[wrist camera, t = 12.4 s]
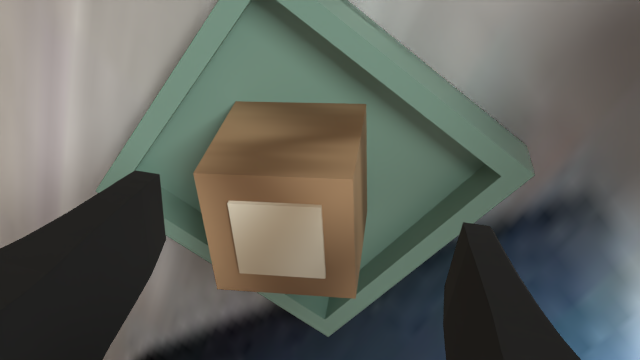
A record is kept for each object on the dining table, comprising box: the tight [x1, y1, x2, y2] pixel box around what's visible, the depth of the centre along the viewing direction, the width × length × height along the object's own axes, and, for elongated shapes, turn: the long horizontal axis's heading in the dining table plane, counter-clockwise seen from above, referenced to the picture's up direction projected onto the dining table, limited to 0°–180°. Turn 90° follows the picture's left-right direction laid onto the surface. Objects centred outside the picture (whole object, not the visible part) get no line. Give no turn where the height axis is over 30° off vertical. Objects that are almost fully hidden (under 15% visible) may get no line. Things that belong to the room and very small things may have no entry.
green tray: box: [96, 0, 535, 337], centre depth 23 cm, size 12×12×2 cm
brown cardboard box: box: [193, 101, 367, 299], centre depth 21 cm, size 5×5×5 cm
